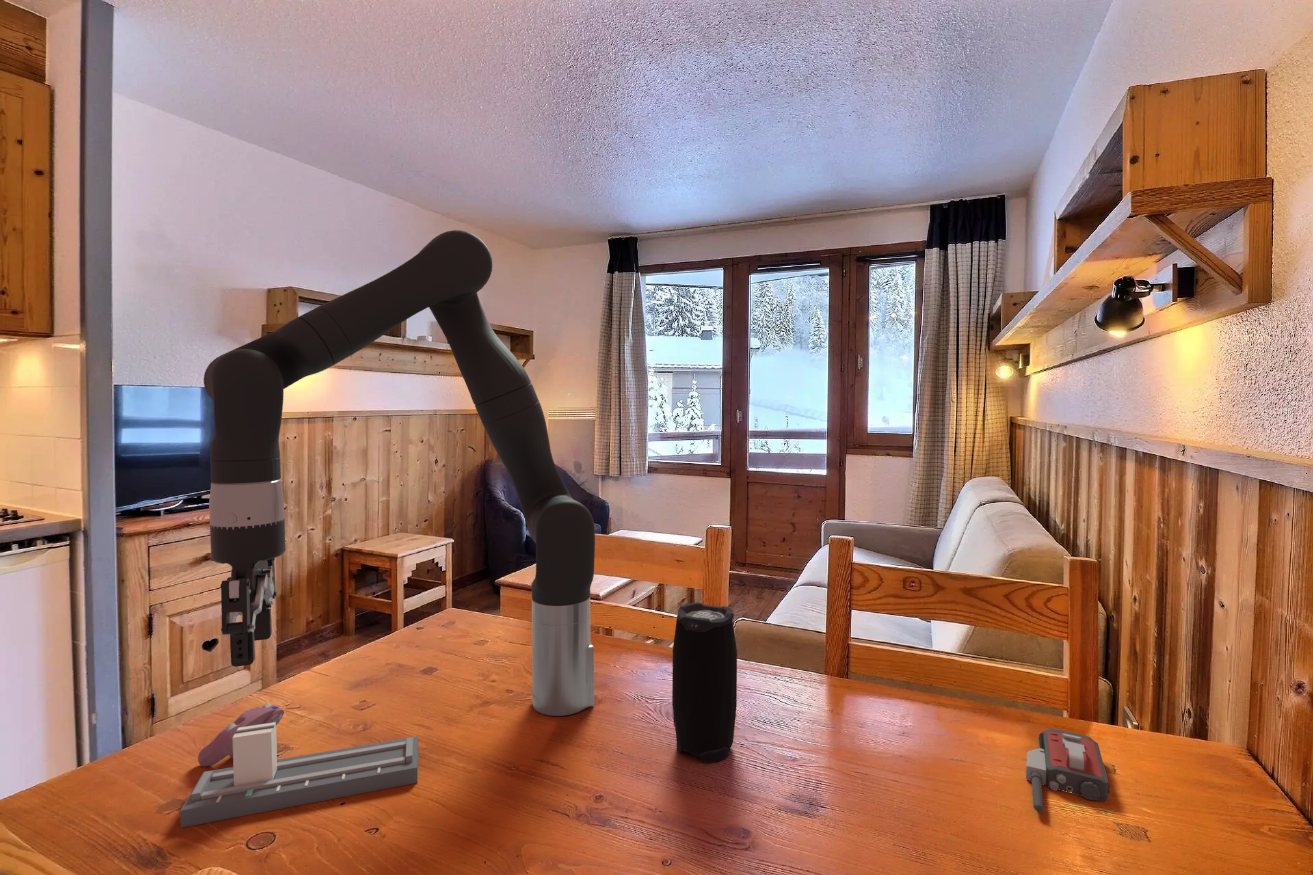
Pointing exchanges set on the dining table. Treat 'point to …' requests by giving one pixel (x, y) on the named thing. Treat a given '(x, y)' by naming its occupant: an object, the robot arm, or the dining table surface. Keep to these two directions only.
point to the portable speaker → (704, 681)
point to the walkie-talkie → (1067, 766)
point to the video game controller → (224, 740)
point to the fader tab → (254, 754)
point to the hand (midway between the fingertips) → (252, 651)
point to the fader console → (304, 781)
